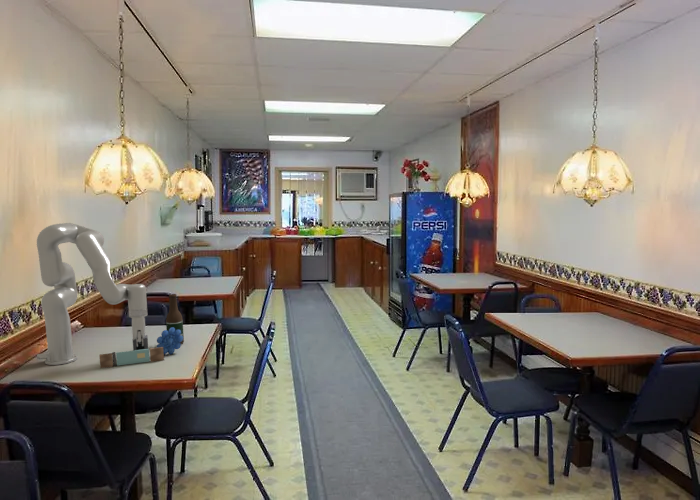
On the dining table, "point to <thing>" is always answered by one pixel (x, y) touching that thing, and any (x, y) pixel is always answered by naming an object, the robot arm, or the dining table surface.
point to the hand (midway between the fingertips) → (140, 352)
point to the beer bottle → (174, 316)
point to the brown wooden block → (110, 361)
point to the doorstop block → (145, 342)
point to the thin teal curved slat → (132, 357)
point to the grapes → (170, 340)
